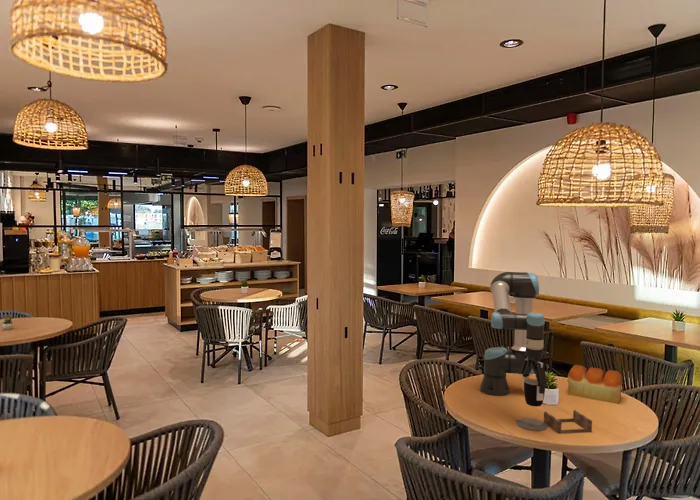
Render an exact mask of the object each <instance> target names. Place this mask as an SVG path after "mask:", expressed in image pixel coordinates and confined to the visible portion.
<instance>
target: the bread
mask: <svg viewBox="0 0 700 500" xmlns="http://www.w3.org/2000/svg"><path fill="white" fill-rule="evenodd" d="M622 386H623V376H622V374H621V372H619V371H617V370H613V369H612V370H611V369H609V370H607V371H606V372H605V371H604V370H603V369H602V368H598V367H593V366H592V367H590V368H589V369H587V368H586V367H584V366H583V365H579V364H575V365H573V366H572V368H570V370H569V372H568V374H567V395H568V396H572V397H573V396H574V397H579V398H582V399H583V398H584V399H589V400H595V401H600V402H606V403H611V404H617V405H618V404H620V400H621V397H622Z"/></svg>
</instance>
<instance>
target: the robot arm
mask: <svg viewBox="0 0 700 500" xmlns="http://www.w3.org/2000/svg"><path fill="white" fill-rule="evenodd" d="M538 278H539V277H538V276H537V274H536V273H534V272H528V271H527V272H524V271H523V272H521V271H518V272H517V271H516V272H515V271H503V272H500V273H499V274H497V275H495V277H493V279H492V280H491V282H490V286H489V287H490V293H491V294H492V298H493V308H494V310H493V312H492V313H491V315H490V317H491V318H490V322H491V323H490V324H491V325H490V326H491V328H493V329H498V330H514V344H513V346H511V350H508V348H506V347H504V346H503V347H502V346H496V347H489V348H487V349H486V350H485V351H484V357H483V359H484V360H483V361H484V364H483V366H484V367H483V377H482V380H481V382H480V386H479V387H480V388H479V390H480V392H481V393H483V392H484V394H486V395H491V396H507V395H509V393H510V387H509V383H508V380H507V379H508V378H507V374H514V375H515V374H517V375H522V391H523V392H524V380H526V379H531V378H530V377H531V375H534V374H535V378H536V379H537V382H538V385H537V401H541V400H543V393H544V386H545V387H547V386H548V382H547V377H546V371H545V370H546V369H545V362H541V359H543V357H544V345H545V343H544V341H545V340H544V339H545V338H544V335H545V334H544V333H545V323H546V321H545V315H544V314H542V313H540V312H533V304H534V303H533V301H534V300H536V298H537V296H538V295H540V284H539V280H538ZM509 294H510V295H512V298H513V299H514V300H515V311H514V313H513V312H512V310H511V304H510V297H509ZM543 401H544V400H543Z"/></svg>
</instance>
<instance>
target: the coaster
mask: <svg viewBox="0 0 700 500" xmlns="http://www.w3.org/2000/svg"><path fill="white" fill-rule="evenodd" d="M515 424H516V425H517V426H518V427H520V428H521V429H525V430H528V431H534V432H540V431H544V430H547V428H548V425H547V424H546V423H544V421H542V420H539V419H537V418H531V417H523V418H519V419H516V423H515Z"/></svg>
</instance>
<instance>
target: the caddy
mask: <svg viewBox="0 0 700 500" xmlns="http://www.w3.org/2000/svg"><path fill="white" fill-rule="evenodd" d="M572 413H573V414H572V415H573V417H572V418H556V417H555V416H554V415H552V414H551V413H549V412H548V411H543V422H544V423H546V425H547V427H550V428H551V429H552V430H554V431H555V432H556V433H558V434H576V433H591V432H593V431H592V430H593V420H592V419H590V418H589V417H587V416H586V415H584V414H582V413H580V412H579V411H577V410H576V409H574V410H573V412H572ZM568 422H569V423H570V422H572V423H573V422H574V423H576V424H577V425H578V426H580V427H582V428H574V429H573V428H572V429H571V428H570V429H562V423H568Z"/></svg>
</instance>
